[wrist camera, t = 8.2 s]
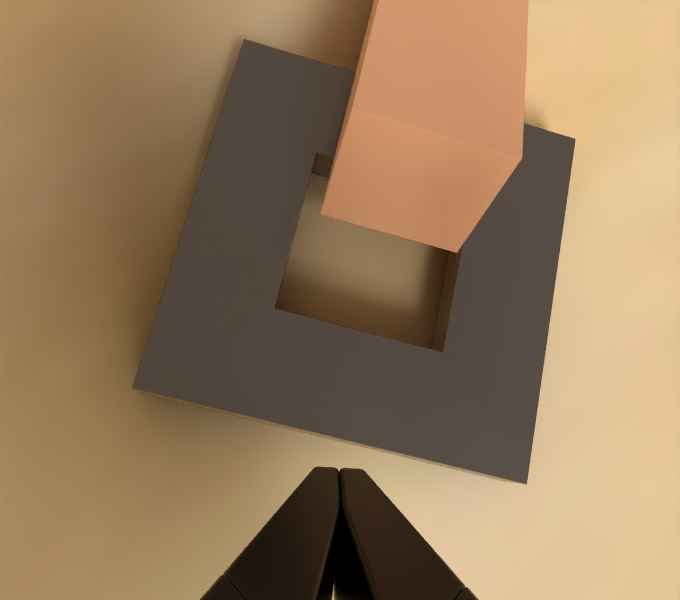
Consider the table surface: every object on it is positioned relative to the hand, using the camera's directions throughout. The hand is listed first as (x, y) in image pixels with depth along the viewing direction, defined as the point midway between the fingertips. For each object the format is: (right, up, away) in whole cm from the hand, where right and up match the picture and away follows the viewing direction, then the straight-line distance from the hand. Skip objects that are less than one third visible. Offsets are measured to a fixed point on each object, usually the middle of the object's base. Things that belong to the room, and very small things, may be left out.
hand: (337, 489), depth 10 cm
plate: (+1, +4, +11) cm, 12 cm away
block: (+2, +6, +6) cm, 9 cm away
